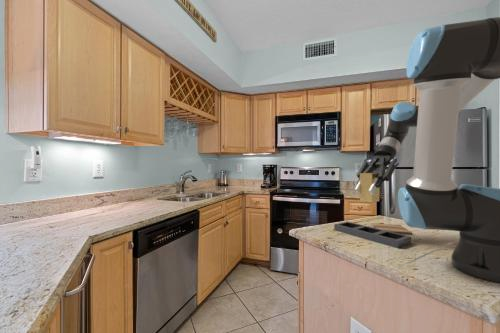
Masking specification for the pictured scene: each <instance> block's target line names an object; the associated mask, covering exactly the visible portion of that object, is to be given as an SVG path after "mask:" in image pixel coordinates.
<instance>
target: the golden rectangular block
mask: <svg viewBox="0 0 500 333" xmlns="http://www.w3.org/2000/svg"><path fill="white" fill-rule="evenodd" d="M378 175H379V172H372V173H360V194H359V201H360V202H367V203H377V202H380V187H379V188H377V190H376V192H375V193H374V195H371V193H370V192H369V189H370V187H371V185H372V183H373V182H374V180H375V178H378Z"/></svg>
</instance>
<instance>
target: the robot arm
mask: <svg viewBox="0 0 500 333" xmlns="http://www.w3.org/2000/svg"><path fill="white" fill-rule="evenodd" d="M405 66H406V67H405V68H406V69H405V70H406V77H407V79H410V80H413V84H412V85H413V87H414V88H416V89H417V90H418V91H419V94H418V95H419V98H418V107H416V106H415V104H413V103H411V102H407V101H402V102H401V101H400V102H398V103H396V104H395V105H394V106H393V107H392V108H393V109H392V111H391V113H390V117H389V121H388V125H387V129H386V132H385V134H384V136H383V138H382V139H381V141H380V142H379V144H378V146H377V148H376V149H375V151H374V154H373V156H372V157H371V158H370V159H367V158H365V159H363V163H362V165H361V166H360V168H359V171H358V172H356V173H357V174H356V177H357V178H358V181H357V182H356V186H355V188H354V190H355V192H356V193H357V194H359V195H360V173H374V171H376V170H377V169H379V170H378V173H379V175H378V178H375V180H374V182H373V183H372V185H371V187H370V189H369V192H370V193H371V195H374V193H375V192H376V190H377V188H379V189H380V187H381V185H382V184H383V183H384V182H385V181H386V182H389V181H390V180H391V177H392V176H393V173H394V172H395V170H396V168H397V167H398V166H399V164H400V163H399V160H398V159H397V158H396V156H397V153H398V152H399V150H400V148H401V146H402V144H403V142H404V141H405V138H406V137H407V136H408V133H409V131H410V128H412V127H413V128H414V127H415V128H416V134H415V146H414V147H415V148H414V159H413V162H414V163H413V172H412V176H411V177H410V178H409V179H407V180H406V183H405V184H406V185H405V187H404V186H403V187H400V188H399V189H398V192H397V202H398V208H399V213H400V215H401V218H402V220H403V222H404V223H405V224H406V225H407V226H408V227H410V228H416V229H423V230H436V231H438V230H439V231H440V230H441V231H455V232H459V239H458V241H457V243H456V245H455V247H454V250H453V251H452V253H451V258H450V259H451V261H450V262H451V266H453V267H454V268H455V269H457V270H459V271H461V272H463V273H465V274H468V275H470V276H473V277H475V278H479V279H482V280H485V281H486V280H487V281H491V282H495V283H500V188H496V187H491V186H481V185H475V184H464V183H462V184H460V185H458V184H457V183H456V182H455V181H454V180H452V175H453V167H454V166H453V165H454V157H455V156H454V155H455V148H456V147H455V146H456V142H457V129H458V122H459V119H460V117H461V110H462V109H463V108H465V107H466V106H467V105H468V104H469V103H470V102H471V101H473V100H474V99H475V97H477V96H478V95H479V94H481V93H482V92H483V91H484V90H485V89H486V88H487V87H488V86H490V85H491V83H493V82H494V81H495V80H499V79H500V17H499V16H498V17H496V16H495V17H489V18H486V19H485V18H483V19H478V20H471V21H462V22H457V23H448V24H441V25H438V26H434V27H430V28H429V27H428V28H425V29H423V30H421V31H420V32H419V33H418V35H417V36H416V37H415V39H414V40H413V42H412V44H411V47H410V50H409V52H408V56H407V60H406V65H405ZM458 186H459V187H458Z"/></svg>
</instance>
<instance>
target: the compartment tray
mask: <svg viewBox="0 0 500 333" xmlns="http://www.w3.org/2000/svg"><path fill="white" fill-rule="evenodd" d="M333 227H334V228H333V229H334V231H335V232H338V233H341V234H347V235H348V236H349V235H350V236H353V237H356V238H359V239H363V240H366V241H369V242H374V243H378V244H380V245H384V246H388V247H391V248H395V249H400V248H403V247H406V246H409V245H411V244H412V235H402V234H398V233H394V232H390V231H385V230H381V229H377V228H373V227H372V226H367V225H364V224H359V223H354V222H351V221H344V222H340V223H334V226H333Z"/></svg>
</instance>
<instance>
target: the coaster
mask: <svg viewBox="0 0 500 333" xmlns="http://www.w3.org/2000/svg"><path fill="white" fill-rule="evenodd" d="M370 224H371V225H370V227H373V228H377V229H381V230H385V231H390V232H394V233H398V234H402V235H407V236H413V232H412V231H410V230H409V229H407V228H406V227H404V226H402V225H401V224H392V223H388V224H386V223H385V224H384V223H370Z"/></svg>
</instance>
